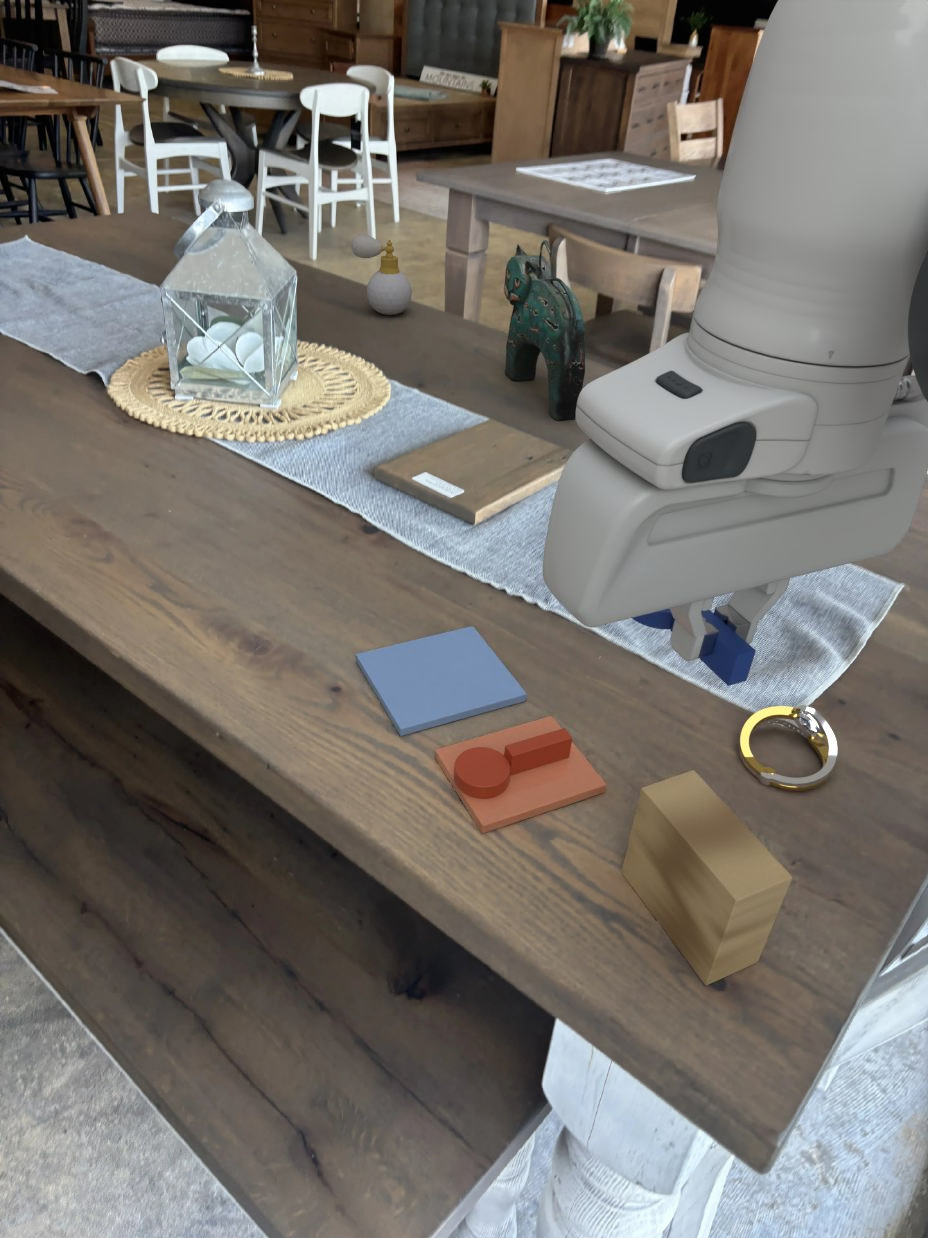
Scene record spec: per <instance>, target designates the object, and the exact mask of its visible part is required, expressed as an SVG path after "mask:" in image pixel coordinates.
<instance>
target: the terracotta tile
mask: <svg viewBox="0 0 928 1238" xmlns="http://www.w3.org/2000/svg"><path fill="white" fill-rule="evenodd" d="M559 729H563V728H562V727H561V726H560V724H559V723H558V722H557V721H556V719H555V718H554V717H553V716H552V715H549V716H546V717H542V718H539V719H535V720H532V721H528V722H524V723H521V724H518V725H515V726H511V727H508V728H505V729H504V728H503V729H501V730H498V731H494V732H491V733H487V734H484V735H481V736H477V737H474V738H471V739H467V740H463V741H461V742H457V743H454V744H449V745H446V746H443V747H439V748H435V749H434V758H435V761H436V762H437V763H438V765H439V767H440V768H441V770H442V771H443V773H444V775H445V776H446V778H447V780H448V781H449V782H450V785H451V786H452V787H453V789H454V791H455V792H456V795H457V796H458V797H459V799H460V801H461V802H462V804H463V805H464V807H465V808H466V811H468V813H469V815H470V817H471V818H472V820H473V821H474V823H475V824H476V826H477V828H478V830H479V831H480V833H481V834H485V833H489V832H491V831H495V830H497V829H501V828H502V827H503V828H504V827H507V826H510V825H512V824H515V823H518V822H521V821H524V820H527V819H530V818H533V817H536V816H539V815H541V814H544V813H547V812H550V811H553V810H557V809H559V808H562V807H565V806H569V805H571V804H574V803H577V802H580V801H583V800H586V799H589V798H591V797H595V796H599V795H601V794H604V793H606V791H607V783H606V782H605V780H604V779H603V778H602V777H601V775H600V774H599V773H598V772H597V770H596V769H595V768H594V766H592V764H591V763H590V762H589V760H588V759H587V758H586V757H585V755H584V754H583V753H582V752H581V751H580V749H579V748H578V747H577V745H576V744H575V743H574V742H573V741H572V744H571V750H570V756H569V757H568V758H565V759H562V760H559V761H556V762H552V763H549V764H546V765H543V766H540V767H536V768H533V769H530V770H527V771H524V772H520V773H517V774H514V775H510V780H509V784H508V787H507V788H506V790H505V791H504V792H503V793H501V794H500V795H498V796H495V797H492V798H486V799H481V798H474V797H471V796H468V795H466V794H465V793H463V792H462V791H461V790H460V789H459V788H458V787H457V786H456V784H455V781H454V765H455V761H456V759H457V757H458V756H459V755H460V754H461V753H462V752H464V751H466V750H468V749H471V748H476V747H485V748H491V749H494V750H496V751H498V752H500V753H501V754H503V755H504V751H505V746H506V745H509V744H512V743H516V742H519V741H522V740H526V739H529V738H533V737H536V736H539V735H543V734H546V733H549V732H553V731H556V730H559Z"/></svg>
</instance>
